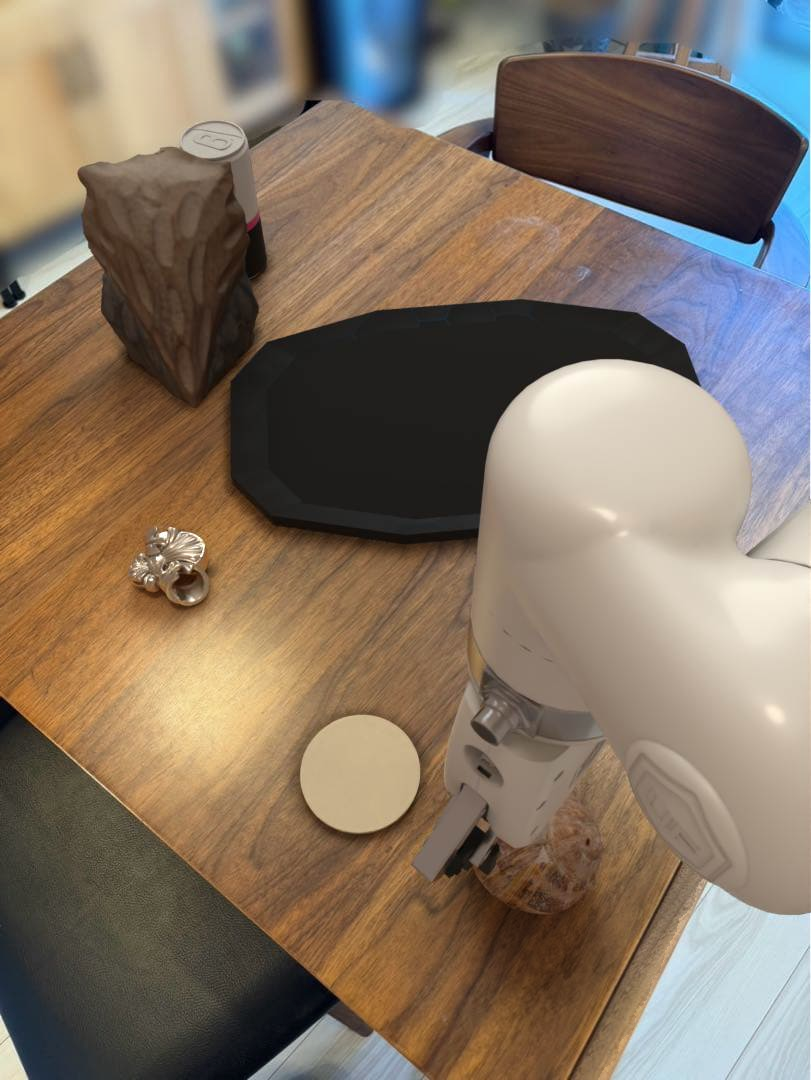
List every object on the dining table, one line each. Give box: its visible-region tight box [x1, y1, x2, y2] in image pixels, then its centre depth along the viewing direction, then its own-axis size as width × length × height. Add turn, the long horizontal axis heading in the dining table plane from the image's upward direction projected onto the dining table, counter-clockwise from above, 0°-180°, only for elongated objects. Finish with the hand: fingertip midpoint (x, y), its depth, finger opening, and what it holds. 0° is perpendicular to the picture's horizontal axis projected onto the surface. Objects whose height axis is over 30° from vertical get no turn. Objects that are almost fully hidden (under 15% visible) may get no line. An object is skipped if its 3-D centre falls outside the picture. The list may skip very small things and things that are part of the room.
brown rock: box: [76, 146, 260, 409], centre depth 83 cm, size 13×13×20 cm
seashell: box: [471, 786, 605, 915], centre depth 62 cm, size 10×9×10 cm
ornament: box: [126, 525, 210, 607], centre depth 75 cm, size 8×7×4 cm
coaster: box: [299, 714, 421, 835], centre depth 67 cm, size 9×9×1 cm
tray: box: [229, 298, 702, 545], centre depth 85 cm, size 45×28×2 cm, turn 96°
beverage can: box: [178, 119, 268, 280], centre depth 91 cm, size 7×6×15 cm
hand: (522, 782), depth 49 cm, fingers open, 9 cm apart
